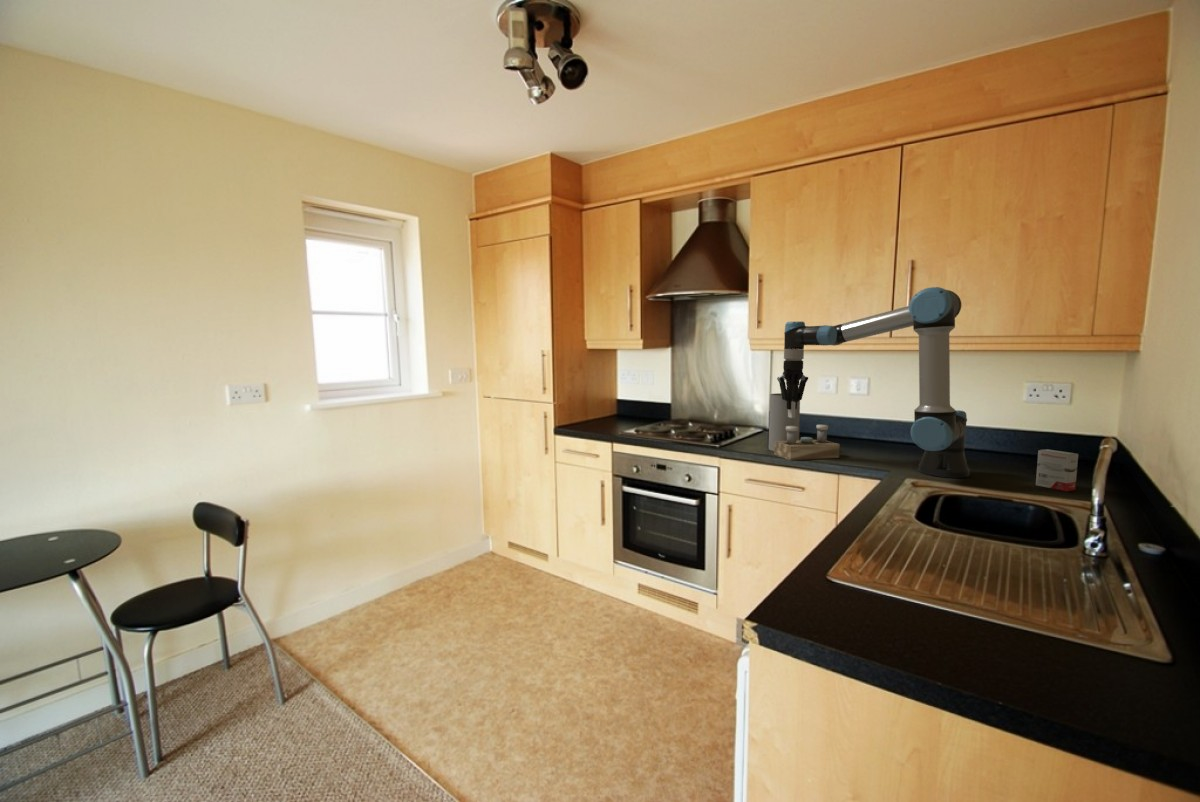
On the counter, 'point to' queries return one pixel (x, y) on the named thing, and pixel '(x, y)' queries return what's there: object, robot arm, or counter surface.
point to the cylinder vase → (780, 420)
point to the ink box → (1057, 470)
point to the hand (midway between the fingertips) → (791, 417)
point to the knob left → (791, 434)
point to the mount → (807, 450)
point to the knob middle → (806, 440)
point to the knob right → (821, 433)
